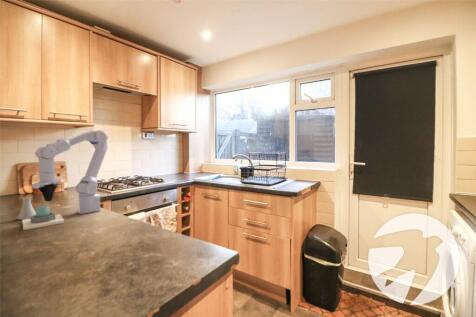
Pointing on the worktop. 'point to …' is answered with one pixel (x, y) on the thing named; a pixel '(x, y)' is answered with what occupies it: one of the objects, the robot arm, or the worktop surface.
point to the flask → (26, 209)
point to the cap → (42, 211)
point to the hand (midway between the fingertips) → (48, 200)
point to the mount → (42, 221)
